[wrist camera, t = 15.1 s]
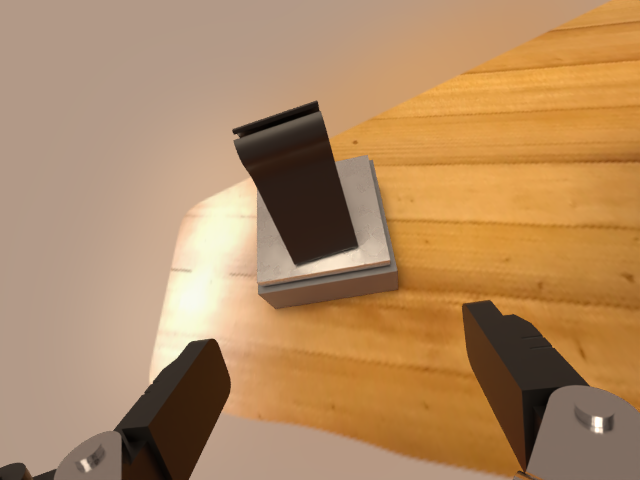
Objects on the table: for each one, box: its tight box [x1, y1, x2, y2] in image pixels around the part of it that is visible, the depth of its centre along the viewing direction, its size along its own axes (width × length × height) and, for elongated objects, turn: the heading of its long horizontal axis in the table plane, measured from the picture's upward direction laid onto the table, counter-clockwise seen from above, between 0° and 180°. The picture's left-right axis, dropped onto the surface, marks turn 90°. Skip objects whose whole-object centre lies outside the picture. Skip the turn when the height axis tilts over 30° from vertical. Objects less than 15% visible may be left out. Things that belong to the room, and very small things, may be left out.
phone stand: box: [232, 101, 358, 265], centre depth 27 cm, size 9×6×12 cm, turn 12°
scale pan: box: [257, 155, 391, 287], centre depth 32 cm, size 12×12×1 cm
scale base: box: [258, 160, 398, 309], centre depth 36 cm, size 13×14×5 cm
